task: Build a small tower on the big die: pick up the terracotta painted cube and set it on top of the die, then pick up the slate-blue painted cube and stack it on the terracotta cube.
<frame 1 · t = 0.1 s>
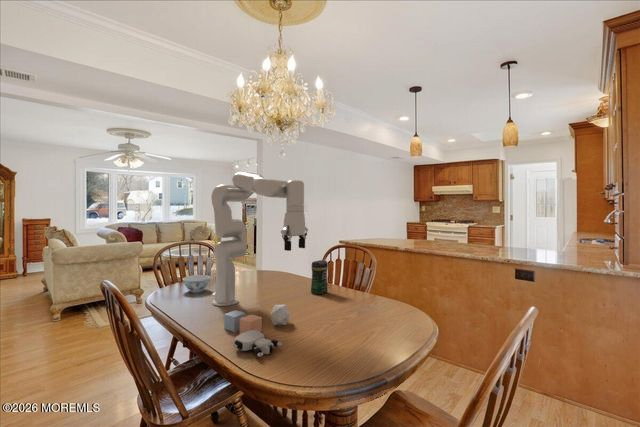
hand: (295, 249, 136), 31 cm above the table, tool pointing down, fingers open, 9 cm apart
robot toy: (256, 350, 110), on the table
die: (280, 324, 134), on the table
chinaware: (196, 291, 184), on the table
coffee jar: (319, 293, 182), on the table
slate block: (235, 328, 129), on the table
terracotta block: (250, 333, 124), on the table
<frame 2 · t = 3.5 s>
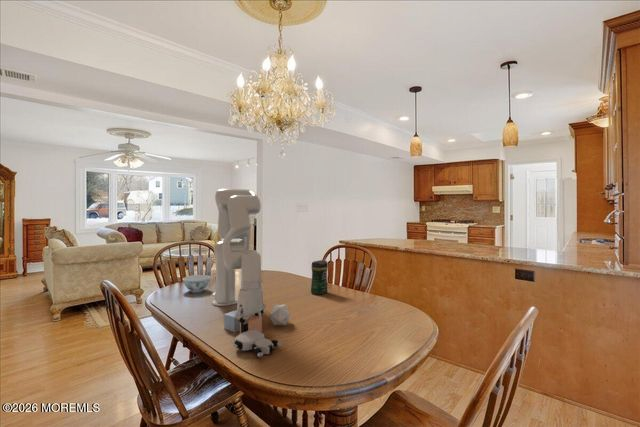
hand: (250, 330, 124), 1 cm above the table, tool pointing down, fingers closed on terracotta block, 6 cm apart
terracotta block: (250, 333, 124), on the table, touching gripper
everything else where it was.
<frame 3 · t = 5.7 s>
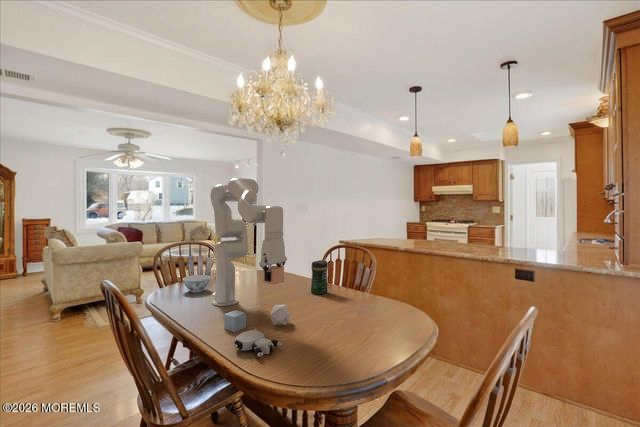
hand: (273, 279, 131), 19 cm above the table, tool pointing down, fingers closed on terracotta block, 6 cm apart
terracotta block: (273, 282, 131), point 18 cm above the table, touching gripper
everything else where it was.
when the fingers open (10 cm above the table, at t = 8.2 s): terracotta block drops 1 cm, resting on die.
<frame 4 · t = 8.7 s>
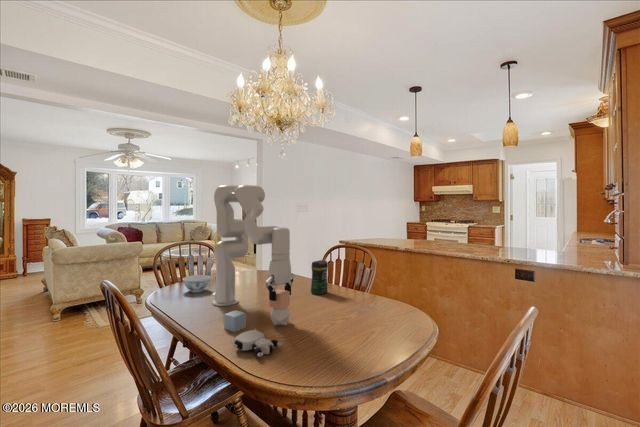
hand: (280, 297, 134), 11 cm above the table, tool pointing down, fingers open, 9 cm apart
die: (280, 324, 134), on the table, touching terracotta block
terracotta block: (279, 305, 133), point 8 cm above the table, touching die
everything else where it was.
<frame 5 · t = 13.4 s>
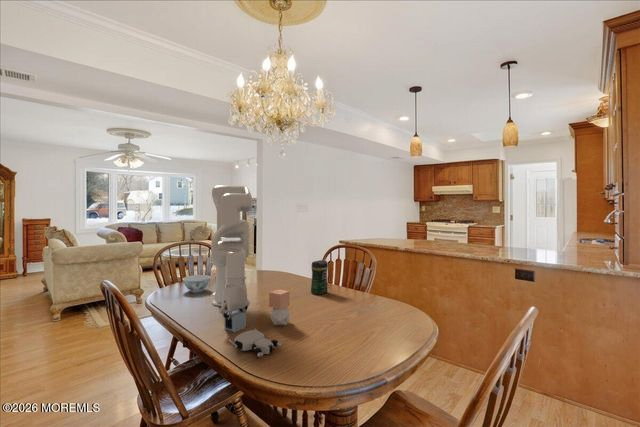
hand: (235, 325, 129), 1 cm above the table, tool pointing down, fingers closed on slate block, 6 cm apart
slate block: (235, 328, 129), on the table, touching gripper
everything else where it was.
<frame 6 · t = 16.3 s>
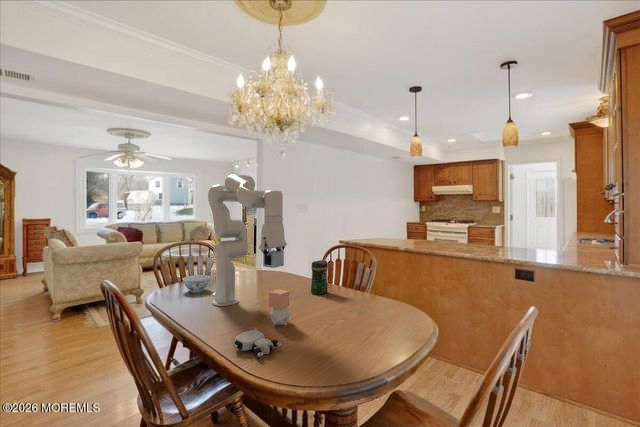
hand: (273, 263, 132), 26 cm above the table, tool pointing down, fingers closed on slate block, 6 cm apart
slate block: (273, 266, 132), point 25 cm above the table, touching gripper
everything else where it was.
when the fingers open (16 cm above the table, at t = 19.2 s): slate block drops 2 cm, resting on terracotta block.
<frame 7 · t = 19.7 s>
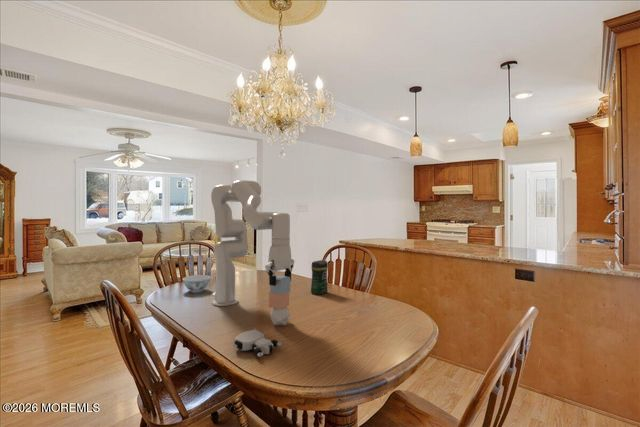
hand: (280, 282, 133), 17 cm above the table, tool pointing down, fingers open, 9 cm apart
slate block: (280, 291, 133), point 14 cm above the table, touching terracotta block
terracotta block: (279, 305, 133), point 8 cm above the table, touching die, slate block
everything else where it was.
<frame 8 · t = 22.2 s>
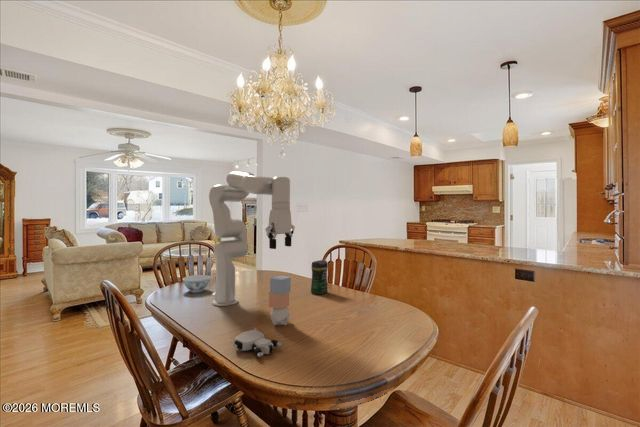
hand: (280, 247, 133), 32 cm above the table, tool pointing down, fingers open, 9 cm apart
nothing on the table moved.
at the end: terracotta block inside the target area on the die (0.6 cm from its centre), point 7.9 cm above the die's base; slate block 0.6 cm off-centre on the terracotta block, point 6.0 cm above the terracotta block's base; slate block tilted 0° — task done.
